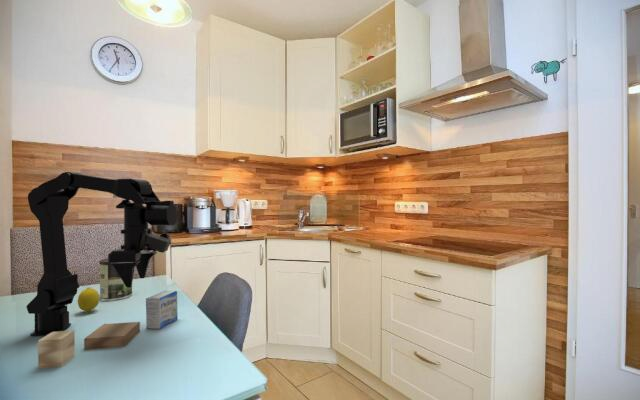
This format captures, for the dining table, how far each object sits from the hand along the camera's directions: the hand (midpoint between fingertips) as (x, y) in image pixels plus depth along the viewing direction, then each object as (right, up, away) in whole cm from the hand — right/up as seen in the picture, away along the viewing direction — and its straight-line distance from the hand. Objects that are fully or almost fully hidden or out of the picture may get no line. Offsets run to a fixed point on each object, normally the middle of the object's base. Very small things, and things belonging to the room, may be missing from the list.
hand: (136, 282), depth 85 cm
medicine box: (+4, -14, +6) cm, 15 cm away
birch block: (-8, -14, -15) cm, 22 cm away
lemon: (-24, -14, +16) cm, 32 cm away
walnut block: (-3, -14, -4) cm, 15 cm away
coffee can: (-26, -14, +31) cm, 43 cm away
